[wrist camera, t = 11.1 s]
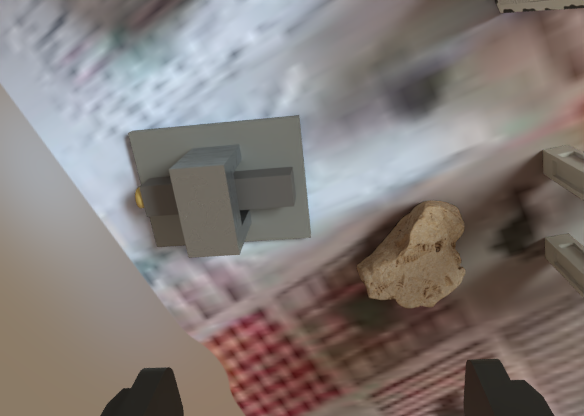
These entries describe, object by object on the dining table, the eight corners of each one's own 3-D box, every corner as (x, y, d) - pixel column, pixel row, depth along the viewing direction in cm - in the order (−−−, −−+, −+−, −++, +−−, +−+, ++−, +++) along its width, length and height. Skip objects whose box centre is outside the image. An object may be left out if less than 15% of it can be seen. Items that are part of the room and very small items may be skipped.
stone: (347, 260, 44) (350, 286, 40) (427, 181, 40) (440, 200, 36) (409, 307, 46) (418, 337, 42) (491, 235, 42) (511, 260, 38)
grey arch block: (192, 148, 40) (168, 169, 34) (239, 144, 39) (223, 164, 33) (207, 225, 43) (188, 257, 37) (251, 222, 42) (239, 254, 36)
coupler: (132, 130, 40) (115, 139, 37) (299, 115, 39) (296, 123, 36) (160, 242, 45) (147, 259, 42) (310, 233, 43) (309, 249, 40)
